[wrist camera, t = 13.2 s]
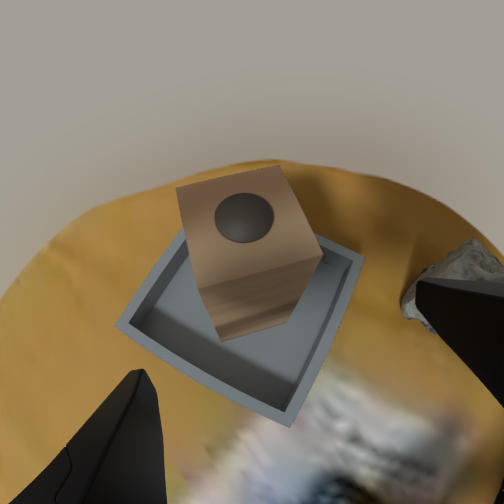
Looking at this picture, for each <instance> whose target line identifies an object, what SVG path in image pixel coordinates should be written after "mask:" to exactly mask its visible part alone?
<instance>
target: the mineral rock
mask: <svg viewBox="0 0 504 504" xmlns="http://www.w3.org/2000/svg"><path fill="white" fill-rule="evenodd" d="M425 277H432V278H444V279H456V280H469V281H482V282H495V283H504V266H503V265H502V264H501V262H500V261H499V260H498V259H497V258H496V257H495V256H493V255H492V254H491V253H490V252H489V251H486V250H485V249H484V246H483V244H482V243H481V242H480V241H479V240H478V239H477V238H472V239H468V240H466V241H464V242H463V243H462V244H461V245H460V246H459V248H458V249H456V250H454V251H452V252H449V253H448V256H447V258H446V259H444V260H443V261H442V262H441V263H437V264H431V265H430V266H429V268H425V269H423V271H422V272H421V274H420V275H419V277H418V278H417V279H416V281H415V282H414V283H413V284H412V285H411V286H410V287H409V288H408V290H407V292H406V293H405V295H404V297H403V299H402V303H401V310H402V314H403V315H404V317H406V318H407V319H409V320H410V319H419V320H420V321H421V323H422V324H423V325H424V326H426V328H427V330H428V331H429V332H430V333H433V334H436V335H438V334H437V333H436V331H435V330H434V329H433V328H432V326H431V325H430V324H429V323H428V322H427V320H426V319H425V318H424V317H423V315H422V314H421V313H420V312H419V311H418V309H417V308H416V305H415V293H416V283H417V282H418V281H419V280H421V279H423V278H425Z"/></svg>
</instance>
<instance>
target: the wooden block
mask: <svg viewBox="0 0 504 504" xmlns="http://www.w3.org/2000/svg"><path fill="white" fill-rule="evenodd" d="M176 193H177V198H178V203H179V208H180V213H181V218H182V223H183V228H184V232H185V237H186V242H187V246H188V251H189V255H190V259H191V264H192V268H193V272H194V276H195V280H196V284H197V289H198V291H199V293H200V296H201V298H202V300H203V303H204V305H205V307H206V310H207V312H208V314H209V316H210V319H211V321H212V323H213V325H214V327H215V330H216V332H217V334H218V336H219V338H220V341H221V342H224V341H227V340H231V339H235V338H238V337H242V336H245V335H249V334H252V333H255V332H259V331H262V330H265V329H269V328H272V327H275V326H278V325H281V324H285V323H287V321H288V319H289V318H290V316H291V314H292V312H293V310H294V309H295V307H296V305H297V303H298V301H299V299H300V298H301V296H302V294H303V292H304V290H305V288H306V286H307V284H308V283H309V281H310V279H311V277H312V275H313V273H314V271H315V269H316V267H317V265H318V263H319V261H320V259H321V257H322V255H323V253H322V250H321V248H320V246H319V244H318V242H317V240H316V237H315V235H314V233H313V231H312V229H311V227H310V225H309V223H308V221H307V219H306V217H305V214H304V212H303V210H302V208H301V206H300V204H299V202H298V200H297V198H296V196H295V194H294V192H293V190H292V188H291V186H290V184H289V182H288V181H287V179H286V177H285V175H284V173H283V171H282V169H281V167H280V165H277V166H272V167H267V168H262V169H256V170H252V171H247V172H242V173H237V174H233V175H228V176H224V177H219V178H215V179H211V180H206V181H202V182H198V183H194V184H190V185H186V186H182V187H178V188H176Z"/></svg>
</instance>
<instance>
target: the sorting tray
mask: <svg viewBox="0 0 504 504" xmlns="http://www.w3.org/2000/svg"><path fill="white" fill-rule="evenodd" d="M313 233H314V232H313ZM314 235H315V237H316V240H317V242H318V244H319V246H320V248H321V250H322V253H323V255H322V257H321V259H320V261H319V263H318V265H317V267H316V269H315V271H314V273H313V275H312V277H311V279H310V281H309V283H308V284H307V286H306V288H305V290H304V292H303V294H302V296H301V298H300V299H299V301H298V303H297V305H296V307H295V309H294V310H293V312H292V314H291V316H290V318H289V319H288V321H287V323H285V324H281V325H278V326H275V327H272V328H269V329H265V330H262V331H259V332H255V333H252V334H249V335H245V336H242V337H238V338H235V339H231V340H227V341H224V342H221V341H220V338H219V336H218V334H217V332H216V330H215V327H214V325H213V323H212V321H211V319H210V316H209V314H208V312H207V310H206V307H205V305H204V303H203V300H202V298H201V296H200V293H199V291H198V289H197V284H196V280H195V276H194V272H193V268H192V264H191V259H190V255H189V251H188V246H187V242H186V237H185V232H184V228H182V229H181V230H180V232H179V233H178V234H177V236H176V237H175V238H174V240H173V241H172V242H171V244H170V245H169V247H168V248H167V249H166V251H165V252H164V253H163V255H162V256H161V258H160V259H159V260H158V262H157V263H156V265H155V266H154V267H153V269H152V270H151V272H150V273H149V275H148V276H147V278H146V279H145V280H144V282H143V283H142V285H141V286H140V288H139V289H138V291H137V292H136V294H135V295H134V297H133V298H132V300H131V301H130V303H129V304H128V306H127V307H126V309H125V310H124V312H123V313H122V315H121V316H120V318H119V320H118V321H117V323H116V324H115V327H116V328H117V329H119V330H120V331H121V332H123V333H124V334H126V335H127V336H128V337H130V338H131V339H132V340H134V341H135V342H137V343H138V344H140V345H141V346H142V347H144V348H145V349H147V350H148V351H150V352H151V353H153V354H154V355H156V356H157V357H159V358H160V359H162V360H163V361H165V362H166V363H168V364H169V365H171V366H173V367H174V368H176V369H177V370H179V371H181V372H182V373H184V374H186V375H187V376H189V377H191V378H192V379H194V380H196V381H197V382H199V383H201V384H203V385H204V386H206V387H208V388H210V389H211V390H213V391H215V392H217V393H219V394H220V395H222V396H224V397H226V398H228V399H230V400H232V401H234V402H236V403H238V404H239V405H241V406H243V407H245V408H247V409H249V410H252V411H254V412H256V413H258V414H260V415H262V416H264V417H266V418H268V419H271V420H273V421H275V422H277V423H280V424H282V425H284V426H286V427H289V428H290V427H291V425H292V423H293V422H294V420H295V418H296V416H297V414H298V412H299V410H300V409H301V407H302V405H303V403H304V401H305V399H306V397H307V395H308V393H309V391H310V389H311V387H312V385H313V383H314V381H315V379H316V377H317V375H318V373H319V370H320V368H321V366H322V364H323V362H324V360H325V357H326V355H327V353H328V351H329V349H330V346H331V344H332V342H333V339H334V337H335V335H336V332H337V330H338V328H339V325H340V323H341V320H342V318H343V315H344V313H345V310H346V308H347V305H348V303H349V300H350V298H351V295H352V292H353V290H354V287H355V284H356V282H357V279H358V276H359V273H360V270H361V267H362V265H363V262H364V259H365V257H364V256H362V255H360V254H358V253H356V252H354V251H352V250H350V249H348V248H346V247H343V246H341V245H339V244H337V243H335V242H333V241H331V240H329V239H327V238H324V237H322V236H320V235H318V234H316V233H314Z"/></svg>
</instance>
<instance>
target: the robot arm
mask: <svg viewBox="0 0 504 504" xmlns="http://www.w3.org/2000/svg"><path fill="white" fill-rule="evenodd" d="M415 305H416V308H417V309H418V311H419V312H420V313H421V314H422V315H423V317H424V318H425V319H426V320H427V322H428V323H429V324H430V325H431V326H432V328H433V329H434V330H435V331H436V333H437V334H438V335H439V336H440V337H441V339H442V340H443V341H444V342H445V343H446V344H447V345H448V346H449V347H450V348H451V349H452V350H453V351H454V352H455V353H456V354H457V355H458V357H459V358H460V359H461V360H462V361H463V362H464V363H465V364H466V365H467V366H468V367H469V368H470V370H471V371H472V372H473V373H474V374H475V375H476V376H477V377H478V379H479V380H480V381H481V382H482V383H483V384H484V385H485V386H486V388H487V389H488V390H489V391H490V392H491V393H492V395H493V396H494V397H495V398H496V399H497V401H498V402H499V403H500V404H501V405H502V407H503V408H504V283H495V282H482V281H469V280H456V279H444V278H432V277H425V278H423V279H421V280H419V281H418V282H417V283H416V293H415ZM9 504H167V495H166V482H165V466H164V445H163V434H162V427H161V420H160V413H159V406H158V397H157V393H156V390H155V388H154V386H153V384H152V382H151V380H150V378H149V376H148V374H147V373H146V371H145V370H144V369H137V370H132V371H130V372H129V373H128V374H127V375H126V376H125V378H124V379H123V380H122V381H121V382H120V383H119V384H118V386H117V387H116V388H115V389H114V390H113V391H112V392H111V394H110V395H109V396H108V397H107V398H106V399H105V400H104V402H103V403H102V404H101V405H100V406H99V407H98V408H97V410H96V411H95V412H94V413H93V414H92V415H91V417H90V418H89V419H88V420H87V421H86V422H85V424H84V425H83V426H82V427H81V428H80V429H79V430H78V432H77V433H76V434H75V435H74V436H73V437H72V439H71V440H70V441H69V442H68V443H67V444H66V447H64V448H63V449H62V450H61V451H60V453H59V454H58V455H57V456H56V457H55V458H54V459H53V461H52V462H51V463H50V464H49V465H48V466H47V467H46V468H45V469H44V470H43V471H42V472H41V473H40V474H39V475H38V476H37V477H36V478H35V479H34V480H33V481H32V482H31V483H30V484H29V485H28V486H27V487H26V488H25V489H24V490H23V491H22V492H21V493H20V494H19V495H18V496H17V497H15V498H14V499H13V500H12V501H11V502H10V503H9Z"/></svg>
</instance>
